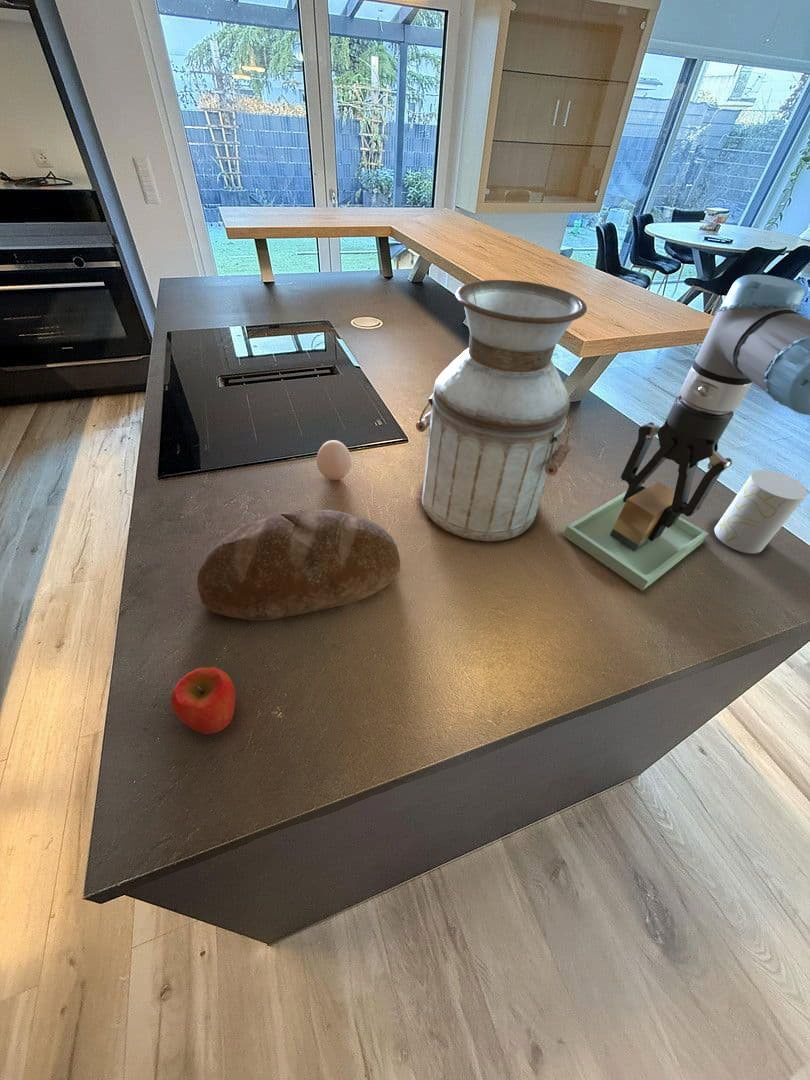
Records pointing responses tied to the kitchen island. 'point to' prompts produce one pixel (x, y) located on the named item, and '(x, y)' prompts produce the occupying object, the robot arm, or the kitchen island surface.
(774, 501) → the white cylinder
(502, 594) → the kitchen island surface
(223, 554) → the bread
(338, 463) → the egg
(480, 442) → the white milk churn
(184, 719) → the apple
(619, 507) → the tray
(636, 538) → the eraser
